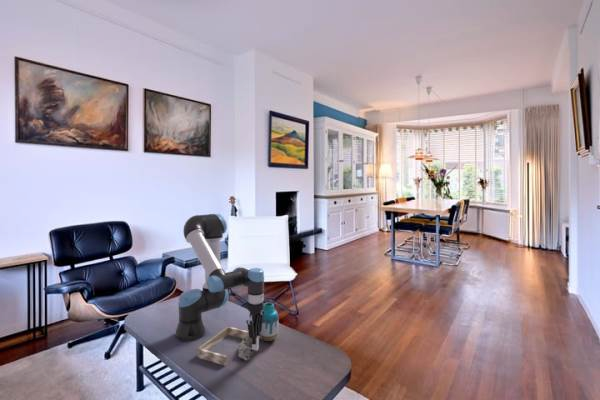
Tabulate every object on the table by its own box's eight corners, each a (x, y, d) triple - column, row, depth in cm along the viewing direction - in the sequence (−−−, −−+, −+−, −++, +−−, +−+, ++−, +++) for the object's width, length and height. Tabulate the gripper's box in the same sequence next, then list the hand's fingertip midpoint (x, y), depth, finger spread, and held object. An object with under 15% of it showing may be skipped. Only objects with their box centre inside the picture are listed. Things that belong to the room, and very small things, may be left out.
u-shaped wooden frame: (196, 357, 142) (196, 348, 142) (227, 333, 165) (227, 326, 165) (225, 365, 136) (225, 357, 136) (253, 339, 159) (253, 332, 158)
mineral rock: (250, 363, 138) (250, 353, 138) (233, 361, 139) (233, 352, 139) (258, 345, 153) (258, 337, 153) (243, 344, 154) (243, 336, 154)
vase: (275, 345, 153) (275, 309, 152) (255, 343, 155) (255, 307, 154) (280, 335, 164) (281, 301, 162) (262, 333, 166) (262, 299, 164)
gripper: (255, 308, 135) (255, 358, 137) (269, 297, 147) (268, 344, 149) (241, 305, 138) (241, 354, 139) (255, 295, 150) (255, 340, 151)
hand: (255, 349), depth 144 cm, fingers closed
